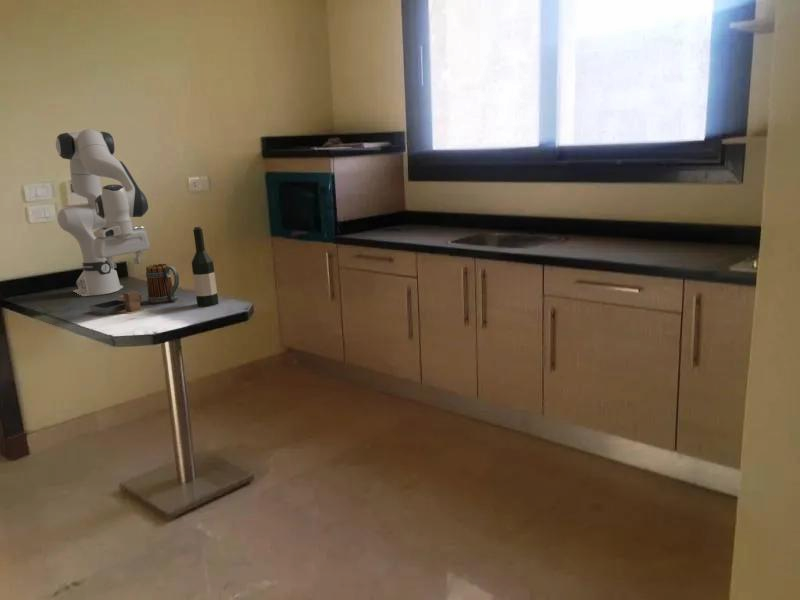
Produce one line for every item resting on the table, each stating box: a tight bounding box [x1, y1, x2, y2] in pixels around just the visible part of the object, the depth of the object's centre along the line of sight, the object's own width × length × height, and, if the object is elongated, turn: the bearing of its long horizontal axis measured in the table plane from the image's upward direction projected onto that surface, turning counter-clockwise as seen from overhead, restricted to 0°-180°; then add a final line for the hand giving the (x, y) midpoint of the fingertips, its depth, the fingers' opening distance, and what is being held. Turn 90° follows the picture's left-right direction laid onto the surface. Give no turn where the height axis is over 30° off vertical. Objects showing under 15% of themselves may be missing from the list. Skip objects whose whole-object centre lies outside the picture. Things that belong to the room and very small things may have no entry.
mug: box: [145, 263, 180, 305], centre depth 267 cm, size 16×11×15 cm
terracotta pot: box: [118, 293, 143, 304], centre depth 268 cm, size 6×6×4 cm
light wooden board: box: [118, 307, 149, 315], centre depth 256 cm, size 8×8×1 cm
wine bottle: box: [191, 226, 219, 308], centre depth 256 cm, size 8×8×30 cm
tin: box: [89, 299, 125, 316], centre depth 258 cm, size 11×11×3 cm
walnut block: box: [122, 290, 142, 312], centre depth 255 cm, size 4×4×7 cm
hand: (125, 266), depth 252 cm, fingers open, 8 cm apart
